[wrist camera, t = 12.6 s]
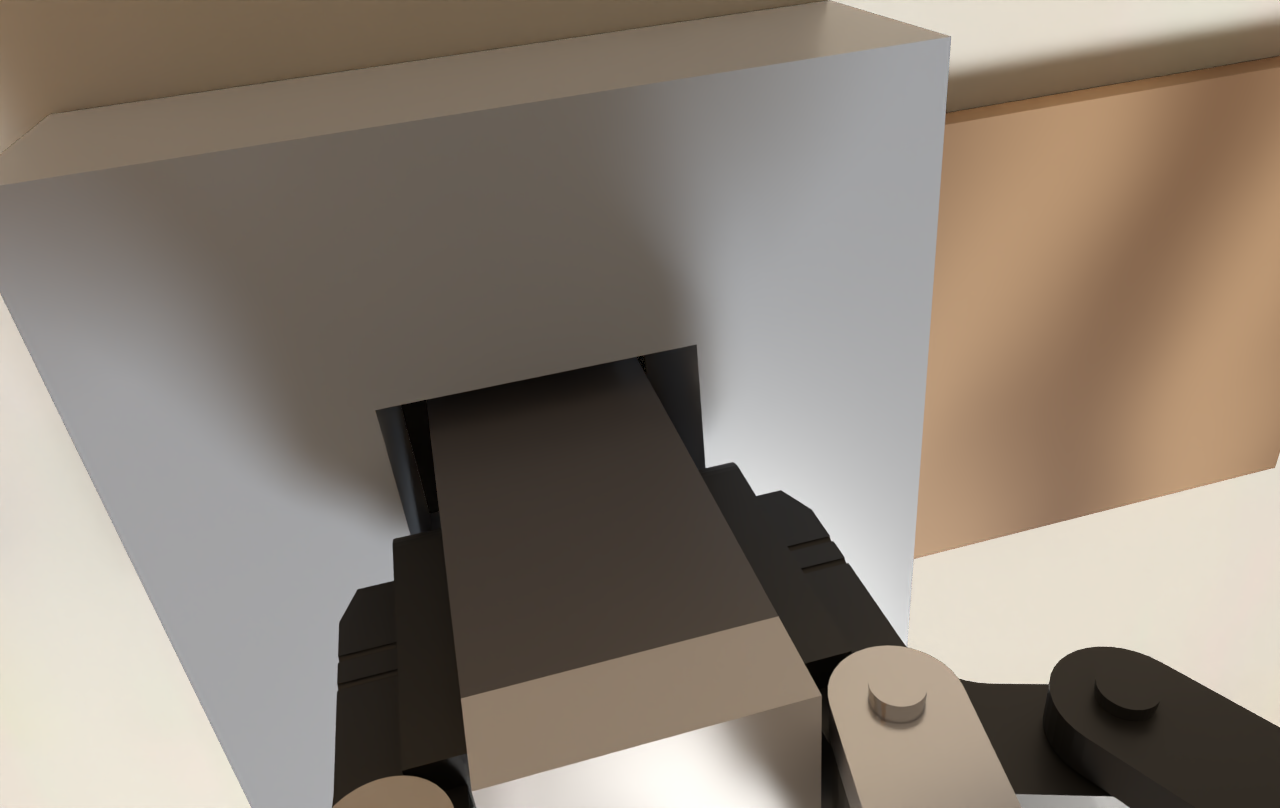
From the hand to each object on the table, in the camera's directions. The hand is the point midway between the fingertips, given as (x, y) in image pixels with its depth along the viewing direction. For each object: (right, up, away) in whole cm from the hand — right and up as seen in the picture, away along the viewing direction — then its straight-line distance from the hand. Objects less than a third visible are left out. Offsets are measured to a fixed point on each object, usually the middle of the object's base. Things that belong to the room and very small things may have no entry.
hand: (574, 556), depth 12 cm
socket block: (-1, +2, +4) cm, 5 cm away
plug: (-1, +2, +4) cm, 5 cm away
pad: (+10, +4, +6) cm, 13 cm away
